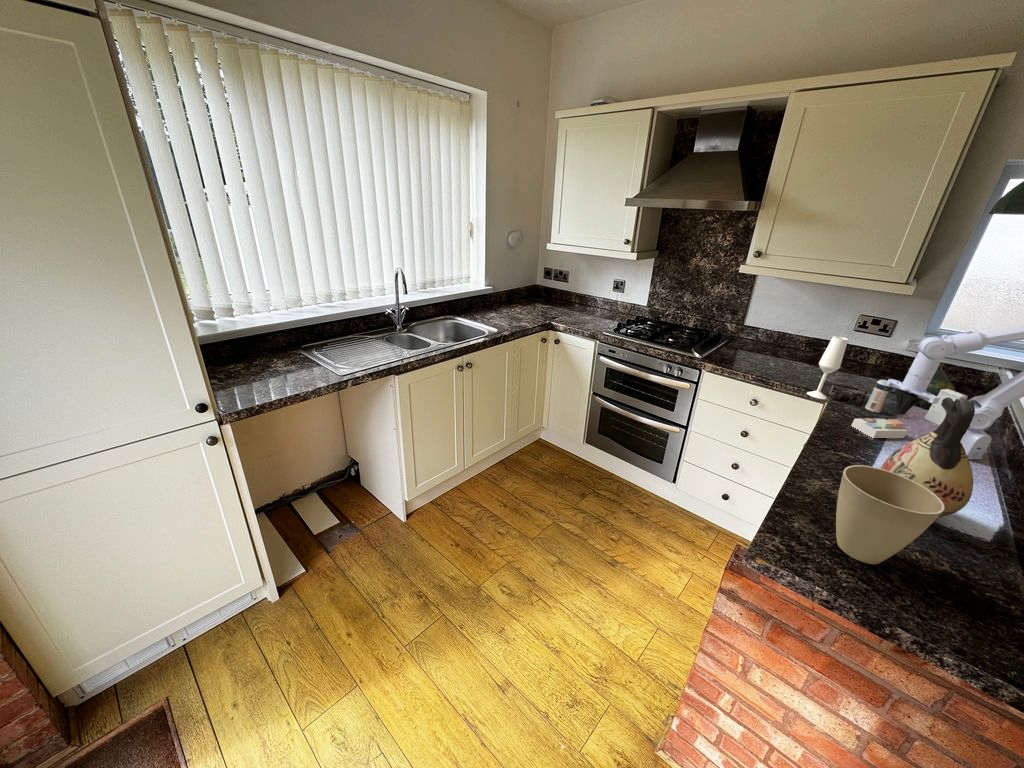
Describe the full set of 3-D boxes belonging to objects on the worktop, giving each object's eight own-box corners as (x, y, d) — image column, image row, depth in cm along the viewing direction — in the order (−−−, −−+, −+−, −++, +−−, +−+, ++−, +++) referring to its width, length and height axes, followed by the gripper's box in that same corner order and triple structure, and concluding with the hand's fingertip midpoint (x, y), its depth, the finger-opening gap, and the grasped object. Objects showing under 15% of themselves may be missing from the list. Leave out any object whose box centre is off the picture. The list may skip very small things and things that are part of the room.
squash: (911, 395, 158) (955, 372, 152) (887, 382, 172) (927, 360, 166) (931, 422, 159) (976, 400, 153) (906, 407, 173) (947, 386, 167)
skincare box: (923, 418, 151) (939, 389, 147) (930, 418, 153) (947, 388, 148) (943, 427, 146) (960, 396, 141) (951, 426, 147) (968, 395, 143)
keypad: (903, 438, 135) (908, 429, 134) (872, 438, 133) (877, 429, 132) (880, 426, 142) (884, 417, 141) (850, 426, 140) (855, 417, 139)
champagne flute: (806, 390, 169) (828, 334, 159) (825, 395, 166) (850, 338, 156) (807, 395, 163) (830, 337, 154) (827, 400, 160) (852, 341, 151)
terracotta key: (901, 430, 135) (904, 423, 134) (893, 430, 135) (896, 423, 134) (892, 425, 138) (895, 419, 137) (884, 425, 137) (887, 419, 137)
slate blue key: (878, 433, 134) (882, 427, 133) (871, 433, 134) (874, 427, 133) (870, 428, 137) (873, 422, 136) (862, 428, 137) (865, 422, 136)
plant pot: (861, 525, 92) (893, 466, 86) (925, 581, 78) (968, 515, 72) (798, 523, 91) (826, 462, 85) (851, 578, 78) (888, 512, 71)
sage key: (890, 430, 135) (894, 423, 134) (883, 430, 134) (886, 423, 133) (882, 425, 137) (885, 419, 136) (874, 425, 137) (877, 419, 136)
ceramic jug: (867, 481, 109) (920, 377, 97) (945, 509, 101) (1015, 399, 89) (866, 512, 97) (928, 398, 85) (956, 547, 88) (1039, 425, 76)
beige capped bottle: (883, 414, 152) (897, 384, 147) (868, 412, 153) (883, 382, 148) (875, 409, 156) (889, 380, 152) (861, 406, 157) (875, 378, 152)
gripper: (886, 366, 135) (868, 403, 140) (934, 384, 122) (912, 424, 127) (904, 367, 136) (886, 403, 141) (953, 384, 123) (931, 424, 128)
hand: (899, 413), depth 134 cm, fingers closed
